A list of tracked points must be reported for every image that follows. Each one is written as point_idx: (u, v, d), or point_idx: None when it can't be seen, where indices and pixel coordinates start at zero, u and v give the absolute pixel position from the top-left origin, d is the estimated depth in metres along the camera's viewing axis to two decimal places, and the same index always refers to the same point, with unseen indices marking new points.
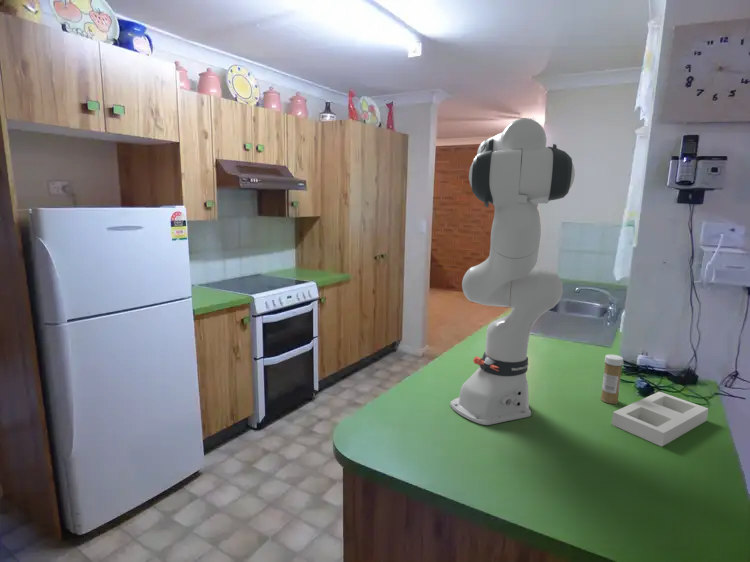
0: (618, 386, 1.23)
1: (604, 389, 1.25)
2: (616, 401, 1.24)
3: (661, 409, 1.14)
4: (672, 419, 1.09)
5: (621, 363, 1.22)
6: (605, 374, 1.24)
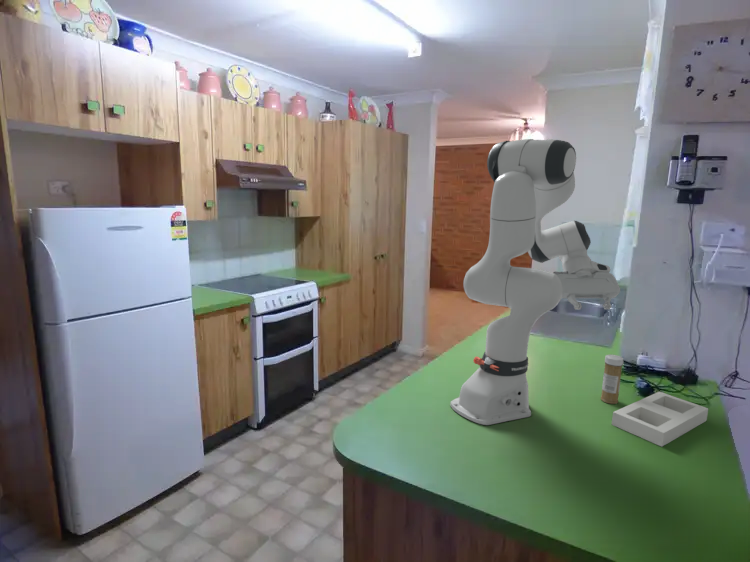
0: (618, 386, 1.23)
1: (604, 389, 1.25)
2: (616, 401, 1.24)
3: (661, 409, 1.14)
4: (672, 419, 1.09)
5: (621, 363, 1.22)
6: (605, 374, 1.24)
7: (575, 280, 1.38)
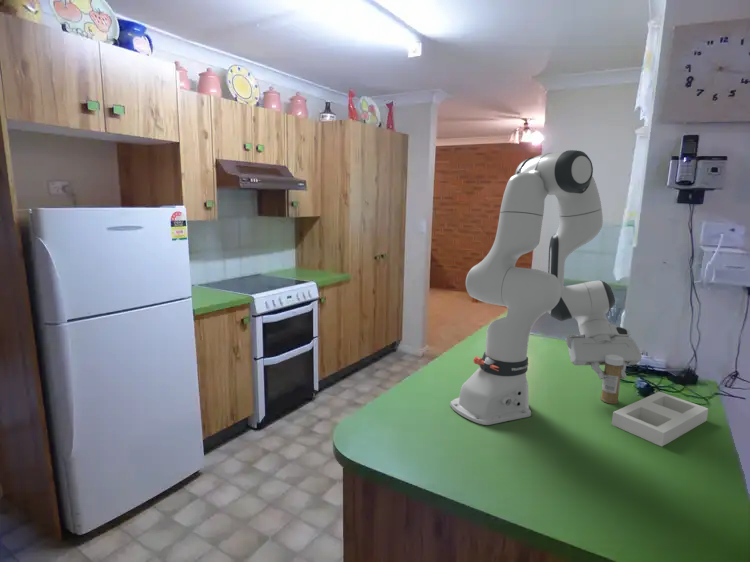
0: (618, 386, 1.23)
1: (604, 389, 1.25)
2: (616, 401, 1.24)
3: (661, 409, 1.14)
4: (672, 419, 1.09)
5: (621, 363, 1.22)
6: None
7: (593, 345, 1.28)
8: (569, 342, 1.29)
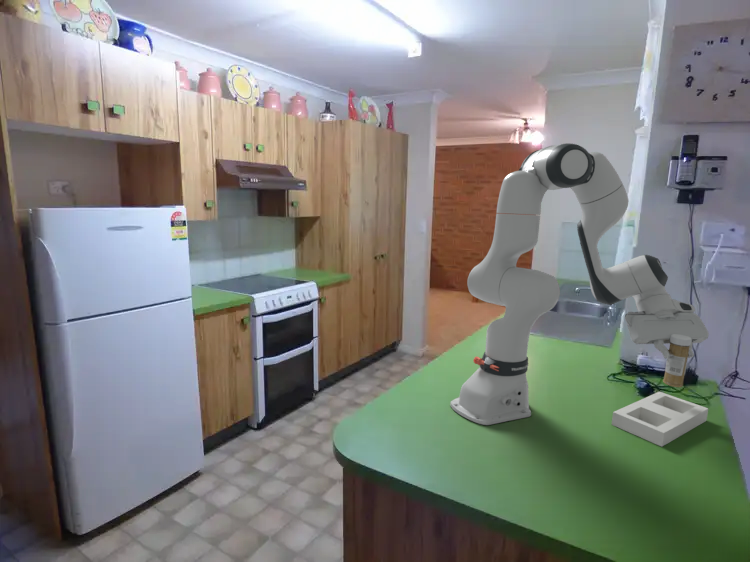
0: (684, 368, 1.14)
1: (668, 371, 1.16)
2: (681, 384, 1.15)
3: (661, 409, 1.14)
4: (672, 419, 1.09)
5: (689, 343, 1.13)
6: None
7: (655, 322, 1.18)
8: (629, 319, 1.20)
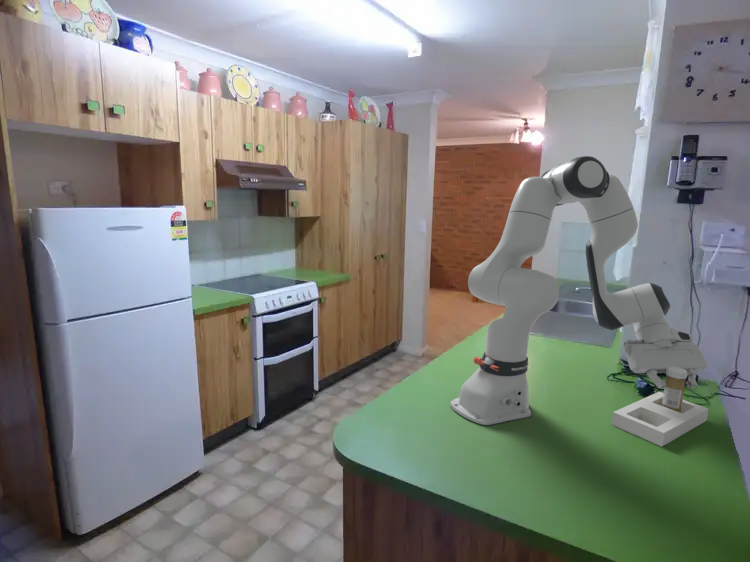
0: (681, 401, 1.15)
1: (665, 404, 1.16)
2: None
3: (661, 409, 1.14)
4: (672, 419, 1.09)
5: (685, 376, 1.14)
6: (667, 388, 1.16)
7: (654, 351, 1.19)
8: (628, 348, 1.21)
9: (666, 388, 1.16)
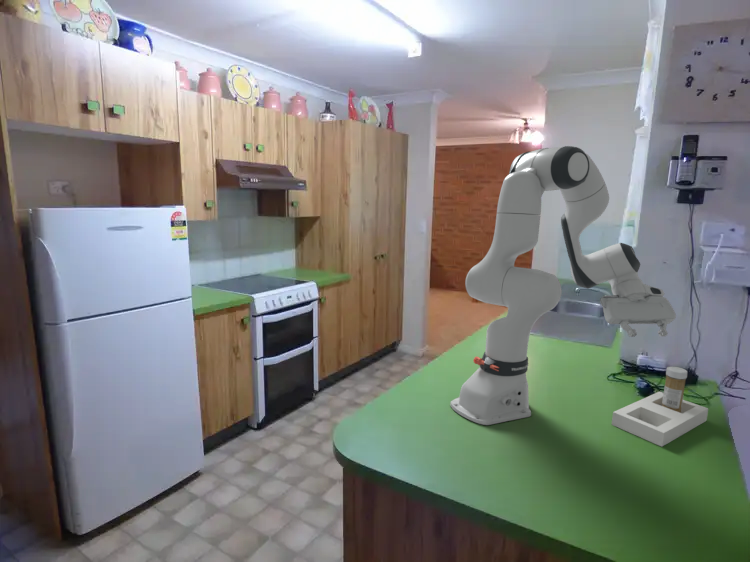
0: (681, 401, 1.15)
1: (665, 404, 1.16)
2: None
3: (661, 409, 1.14)
4: (672, 419, 1.09)
5: (685, 376, 1.14)
6: (667, 388, 1.16)
7: (628, 304, 1.30)
8: (604, 302, 1.31)
9: (666, 388, 1.16)
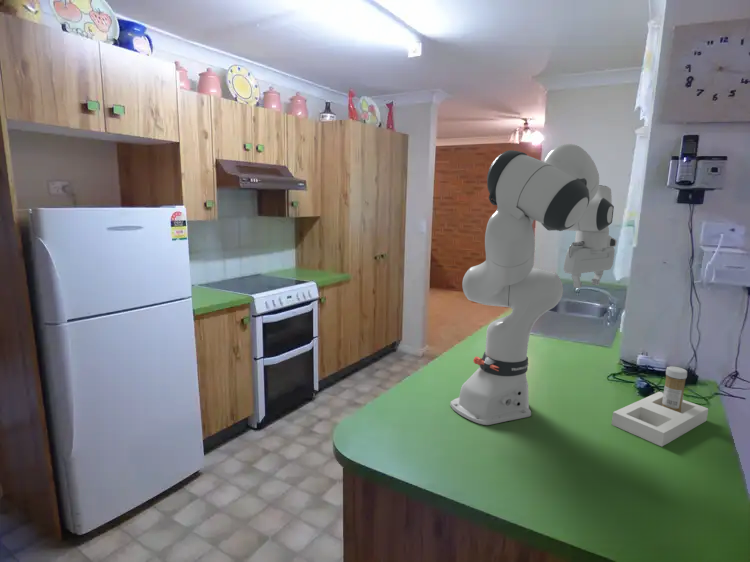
0: (681, 401, 1.15)
1: (665, 404, 1.16)
2: None
3: (661, 409, 1.14)
4: (672, 419, 1.09)
5: (685, 376, 1.14)
6: (667, 388, 1.16)
7: (587, 256, 1.29)
8: (572, 251, 1.26)
9: (666, 388, 1.16)
